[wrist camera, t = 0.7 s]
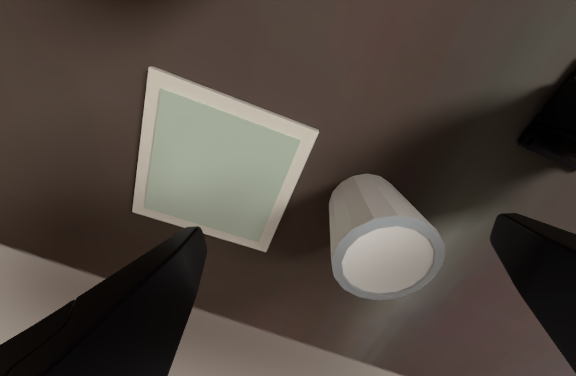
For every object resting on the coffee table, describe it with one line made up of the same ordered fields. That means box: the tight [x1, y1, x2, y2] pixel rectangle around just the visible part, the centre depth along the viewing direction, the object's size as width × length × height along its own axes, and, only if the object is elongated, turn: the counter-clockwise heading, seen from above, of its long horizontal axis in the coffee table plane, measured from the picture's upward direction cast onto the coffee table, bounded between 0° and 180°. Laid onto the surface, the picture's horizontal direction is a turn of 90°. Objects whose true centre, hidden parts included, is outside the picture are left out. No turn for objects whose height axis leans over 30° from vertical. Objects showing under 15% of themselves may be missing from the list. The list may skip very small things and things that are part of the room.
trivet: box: [132, 66, 319, 252], centre depth 21 cm, size 12×12×1 cm
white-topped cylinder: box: [329, 174, 445, 300], centre depth 19 cm, size 7×7×7 cm
